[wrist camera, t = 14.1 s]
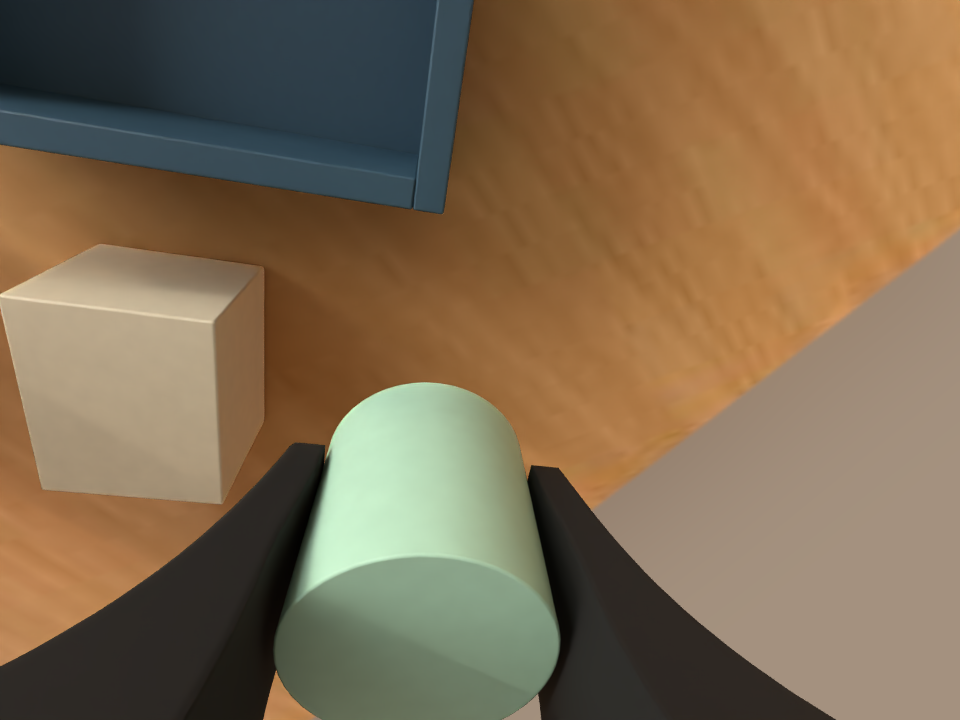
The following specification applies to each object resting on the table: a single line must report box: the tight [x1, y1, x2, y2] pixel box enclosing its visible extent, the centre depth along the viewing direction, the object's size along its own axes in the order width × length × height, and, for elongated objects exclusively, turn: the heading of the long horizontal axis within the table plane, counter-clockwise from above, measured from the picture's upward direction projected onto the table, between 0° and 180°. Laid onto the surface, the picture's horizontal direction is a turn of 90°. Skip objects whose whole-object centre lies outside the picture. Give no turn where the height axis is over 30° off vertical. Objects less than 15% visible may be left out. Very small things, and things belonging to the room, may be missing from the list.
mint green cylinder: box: [273, 382, 561, 720], centre depth 11 cm, size 4×4×5 cm
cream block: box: [0, 244, 264, 504], centre depth 16 cm, size 5×6×4 cm
